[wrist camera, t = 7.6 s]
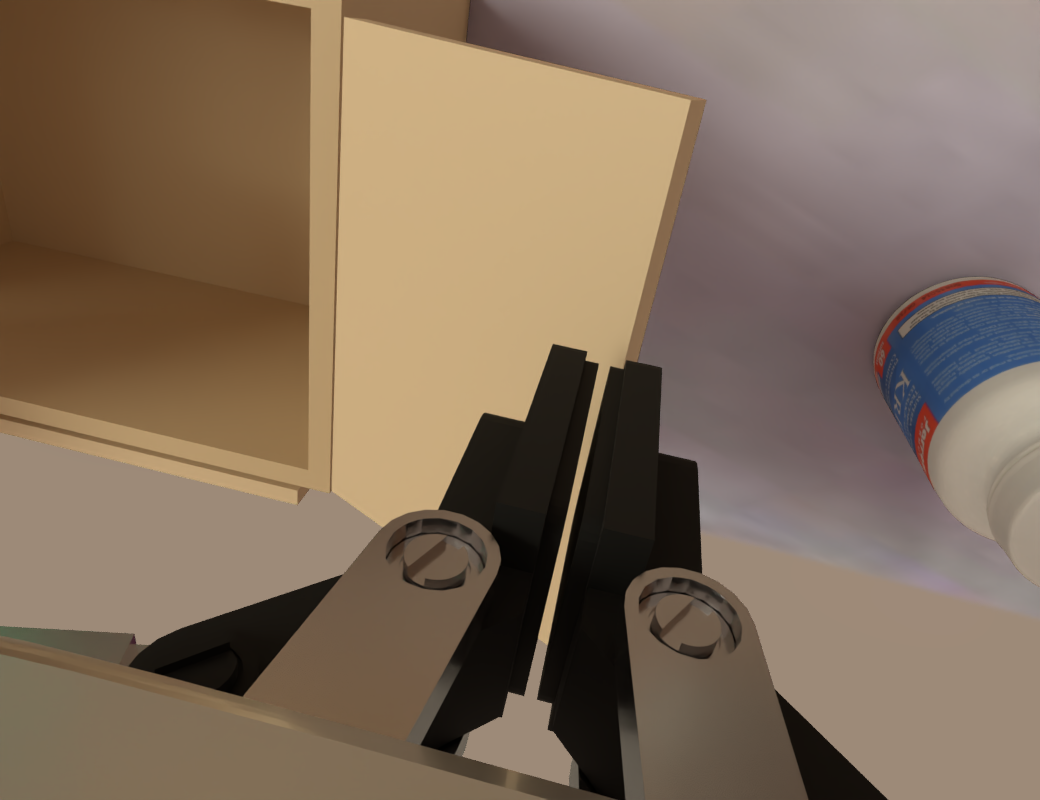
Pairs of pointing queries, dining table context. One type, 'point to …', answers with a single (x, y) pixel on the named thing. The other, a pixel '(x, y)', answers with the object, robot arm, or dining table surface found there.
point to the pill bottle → (972, 404)
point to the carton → (178, 229)
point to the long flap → (485, 248)
